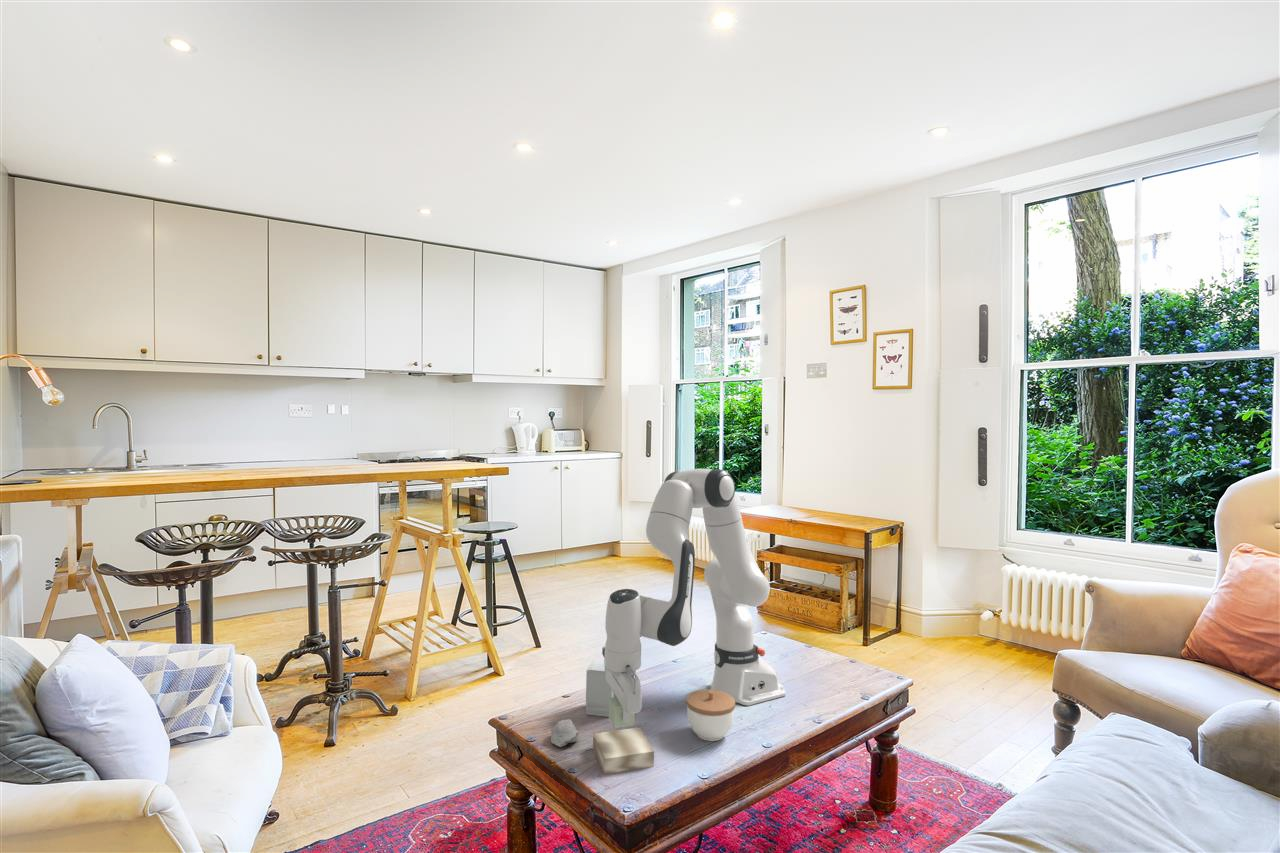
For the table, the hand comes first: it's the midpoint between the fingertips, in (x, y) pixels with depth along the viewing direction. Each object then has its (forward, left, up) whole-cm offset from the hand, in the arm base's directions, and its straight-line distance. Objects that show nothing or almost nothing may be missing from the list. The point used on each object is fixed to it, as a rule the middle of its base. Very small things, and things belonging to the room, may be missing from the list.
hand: (622, 714), depth 156 cm
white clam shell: (+12, -11, -11) cm, 20 cm away
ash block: (0, 0, -11) cm, 11 cm away
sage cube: (0, 0, -2) cm, 2 cm away
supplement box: (-1, -25, -11) cm, 27 cm away
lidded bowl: (-25, -4, -11) cm, 28 cm away
